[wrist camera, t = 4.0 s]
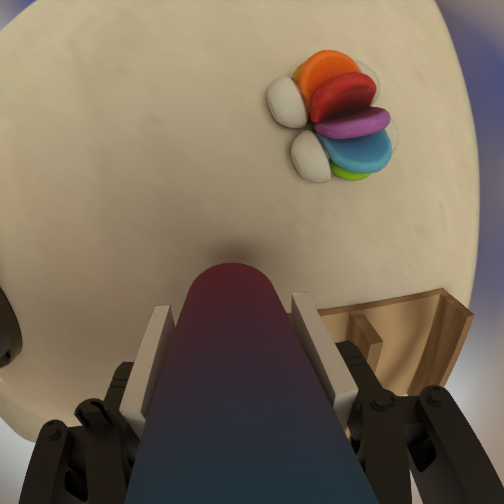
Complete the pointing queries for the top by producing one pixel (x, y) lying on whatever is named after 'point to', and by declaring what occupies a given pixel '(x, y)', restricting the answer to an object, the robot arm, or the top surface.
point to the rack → (404, 337)
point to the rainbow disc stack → (334, 118)
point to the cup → (241, 408)
